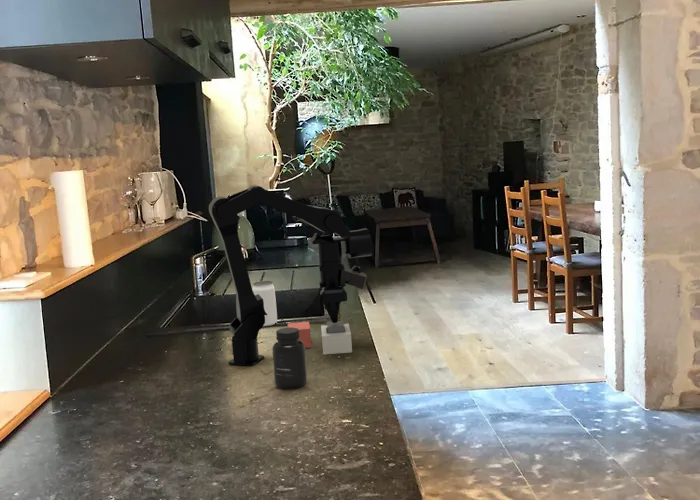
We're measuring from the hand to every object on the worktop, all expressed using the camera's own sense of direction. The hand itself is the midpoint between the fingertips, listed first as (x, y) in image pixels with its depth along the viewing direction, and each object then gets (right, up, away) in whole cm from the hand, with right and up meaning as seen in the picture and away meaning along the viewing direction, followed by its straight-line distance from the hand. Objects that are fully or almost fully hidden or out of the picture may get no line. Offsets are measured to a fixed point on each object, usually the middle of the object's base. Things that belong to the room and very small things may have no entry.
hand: (334, 322), depth 170 cm
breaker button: (0, -3, +1) cm, 3 cm away
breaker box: (0, -6, +1) cm, 6 cm away
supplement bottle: (-9, -11, -23) cm, 27 cm away
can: (-20, -4, +28) cm, 35 cm away
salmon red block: (-9, -6, +6) cm, 12 cm away
